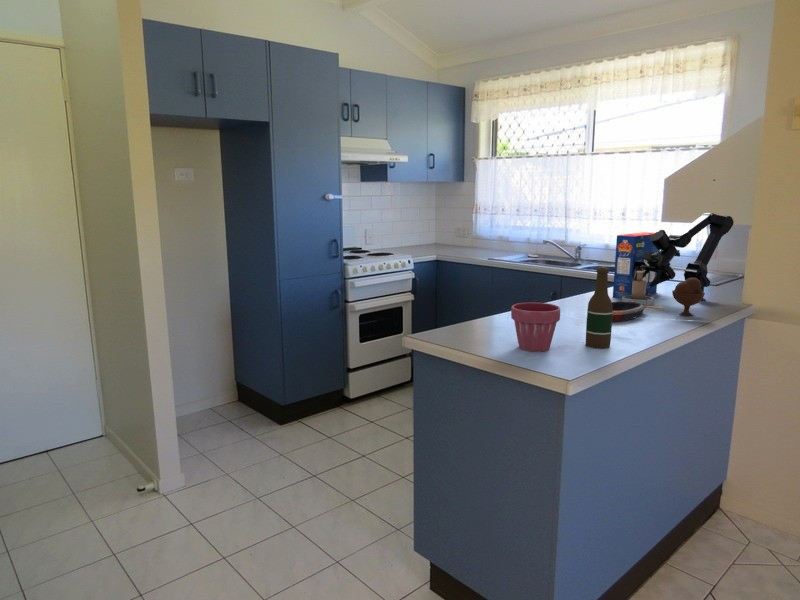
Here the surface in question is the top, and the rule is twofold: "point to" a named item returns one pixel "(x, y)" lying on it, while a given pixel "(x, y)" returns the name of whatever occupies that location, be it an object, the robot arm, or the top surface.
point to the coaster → (654, 308)
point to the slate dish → (647, 300)
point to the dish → (626, 310)
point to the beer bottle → (599, 314)
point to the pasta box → (631, 262)
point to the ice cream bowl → (688, 294)
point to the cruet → (638, 287)
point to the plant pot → (535, 324)
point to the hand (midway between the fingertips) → (642, 284)
